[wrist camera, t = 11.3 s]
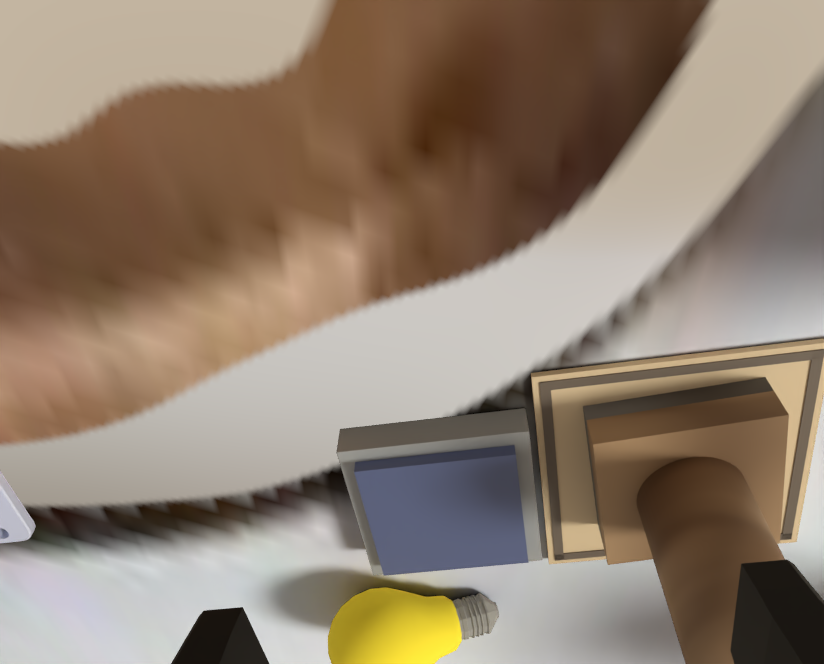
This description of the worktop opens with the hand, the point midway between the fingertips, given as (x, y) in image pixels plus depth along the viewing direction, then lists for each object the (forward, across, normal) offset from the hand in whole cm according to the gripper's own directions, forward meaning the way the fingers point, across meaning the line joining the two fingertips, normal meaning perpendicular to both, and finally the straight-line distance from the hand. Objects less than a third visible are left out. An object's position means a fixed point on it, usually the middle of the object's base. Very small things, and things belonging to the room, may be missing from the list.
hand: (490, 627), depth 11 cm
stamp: (+10, -6, +7) cm, 13 cm away
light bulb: (+10, +3, +13) cm, 17 cm away
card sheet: (+10, -6, +7) cm, 13 cm away
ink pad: (+10, +2, +7) cm, 12 cm away
